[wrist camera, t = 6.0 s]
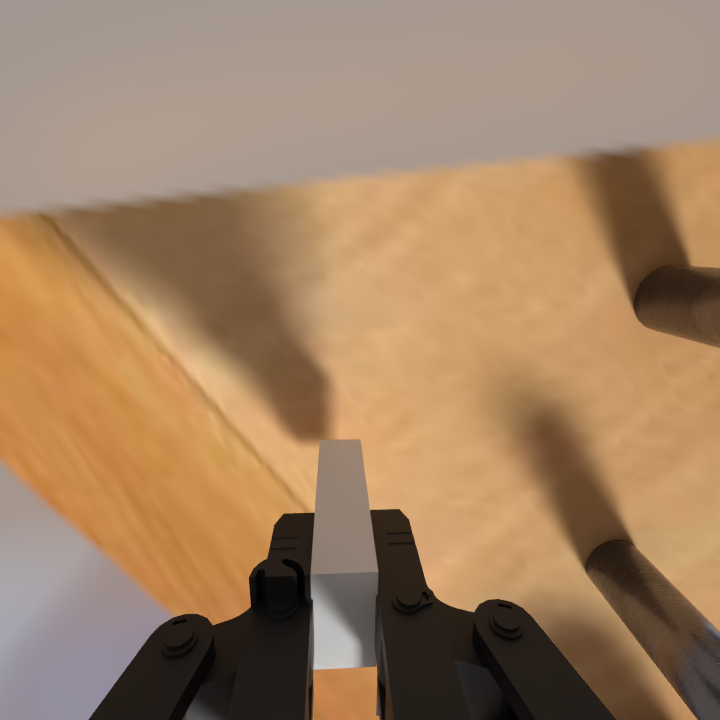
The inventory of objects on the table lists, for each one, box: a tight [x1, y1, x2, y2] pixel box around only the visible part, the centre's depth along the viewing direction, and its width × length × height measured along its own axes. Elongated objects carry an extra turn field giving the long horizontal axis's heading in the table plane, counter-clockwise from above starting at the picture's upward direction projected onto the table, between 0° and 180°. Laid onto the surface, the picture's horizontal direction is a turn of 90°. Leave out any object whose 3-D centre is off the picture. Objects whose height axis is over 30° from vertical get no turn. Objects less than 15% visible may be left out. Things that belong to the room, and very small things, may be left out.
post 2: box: [586, 540, 720, 720], centre depth 16 cm, size 3×3×9 cm
